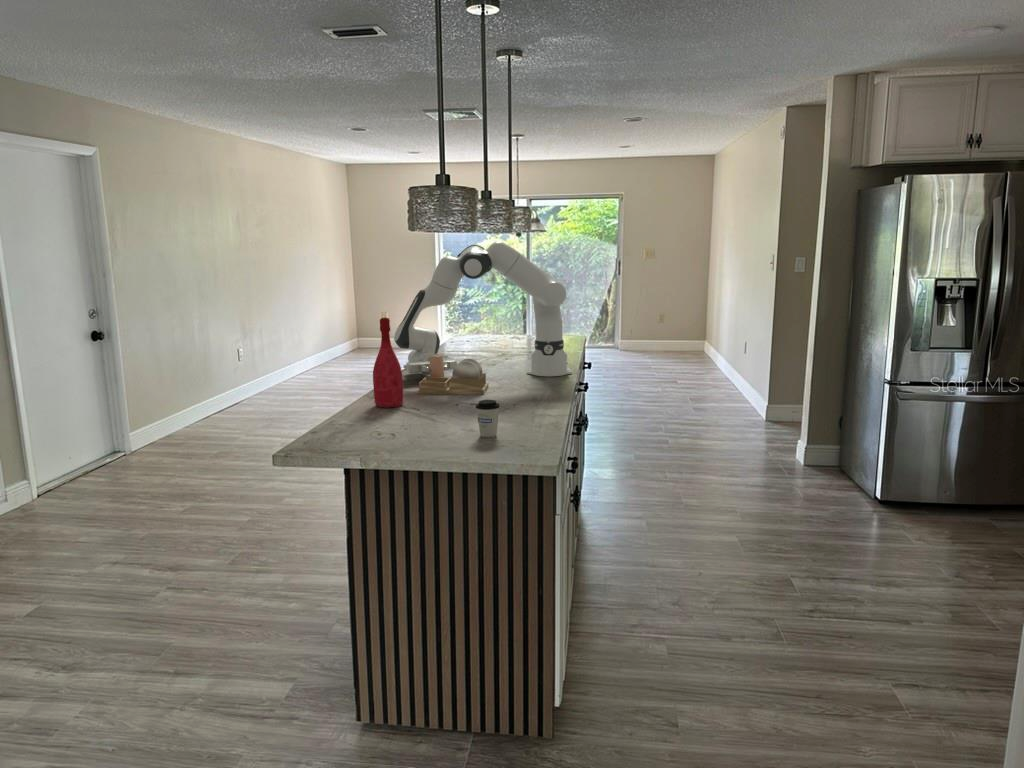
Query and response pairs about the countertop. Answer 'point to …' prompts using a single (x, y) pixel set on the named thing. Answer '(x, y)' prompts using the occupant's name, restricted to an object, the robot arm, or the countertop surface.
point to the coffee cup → (488, 417)
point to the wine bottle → (387, 372)
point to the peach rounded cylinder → (436, 365)
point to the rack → (457, 380)
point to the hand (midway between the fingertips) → (437, 368)
